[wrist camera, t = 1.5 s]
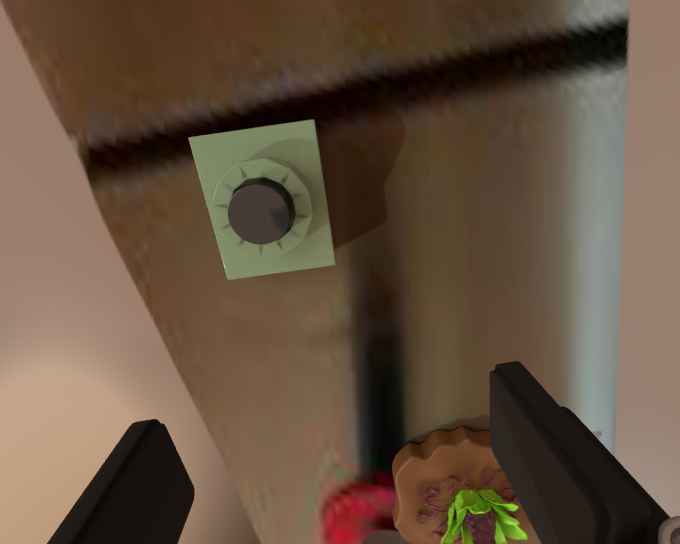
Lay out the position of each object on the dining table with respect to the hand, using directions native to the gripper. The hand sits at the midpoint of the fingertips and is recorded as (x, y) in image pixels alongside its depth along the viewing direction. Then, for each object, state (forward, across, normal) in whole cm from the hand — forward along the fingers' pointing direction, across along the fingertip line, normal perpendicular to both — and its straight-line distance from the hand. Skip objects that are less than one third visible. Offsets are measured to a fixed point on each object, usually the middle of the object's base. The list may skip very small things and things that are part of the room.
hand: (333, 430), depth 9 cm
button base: (+22, +4, -4) cm, 23 cm away
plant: (+23, -12, +35) cm, 44 cm away
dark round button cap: (+17, +4, -4) cm, 18 cm away
